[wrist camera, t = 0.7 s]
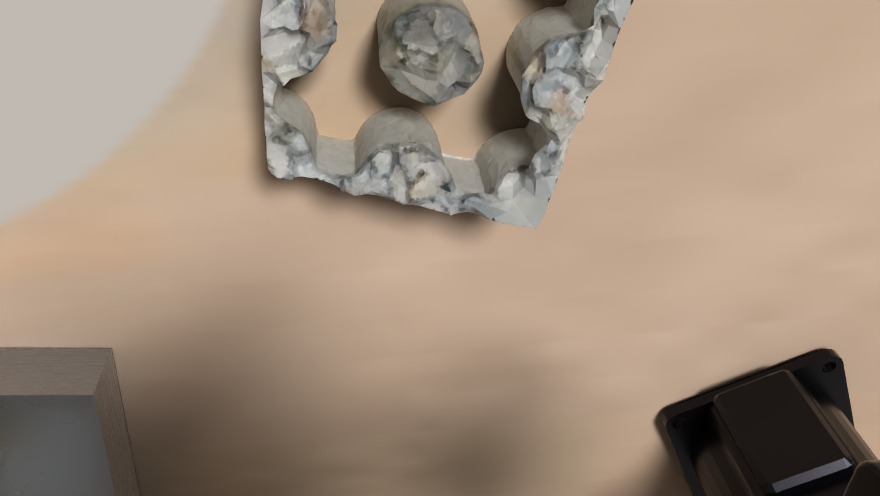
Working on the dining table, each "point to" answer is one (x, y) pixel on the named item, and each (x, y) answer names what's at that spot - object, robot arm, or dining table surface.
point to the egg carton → (432, 82)
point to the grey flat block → (63, 424)
